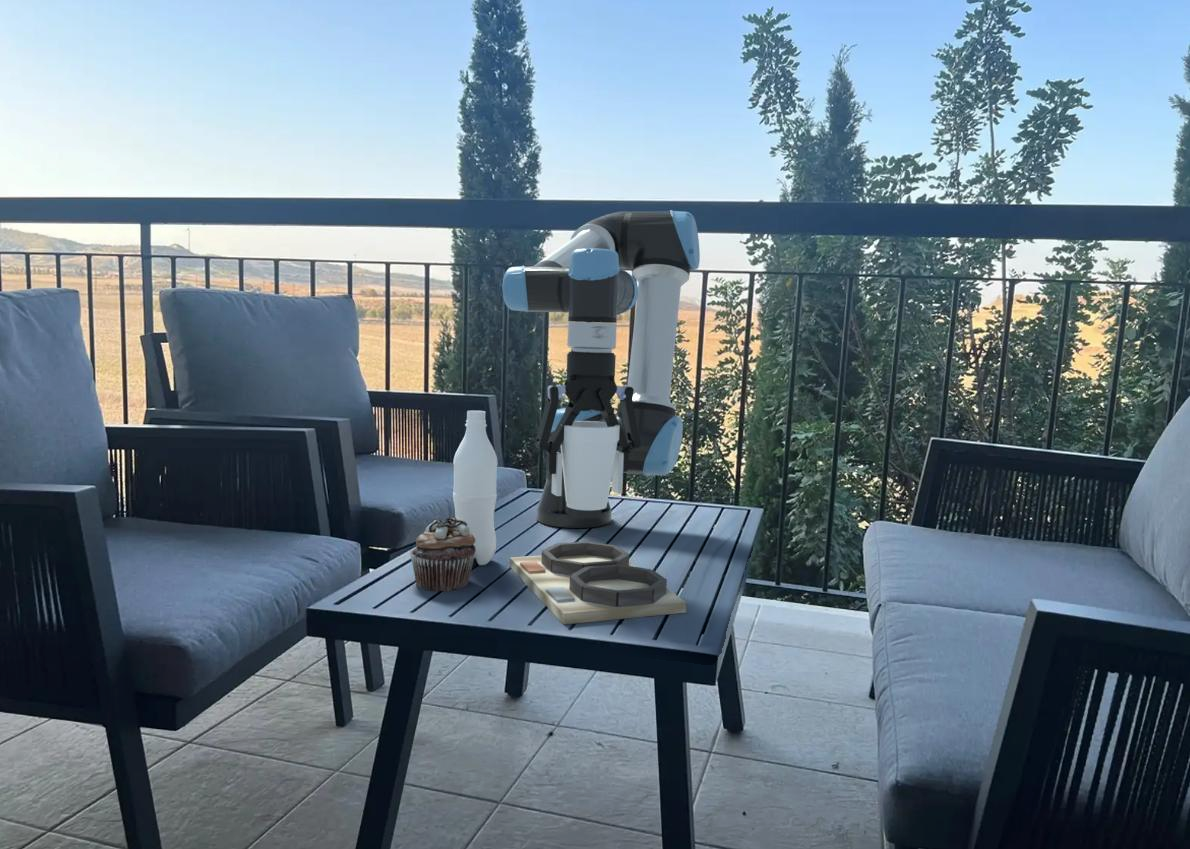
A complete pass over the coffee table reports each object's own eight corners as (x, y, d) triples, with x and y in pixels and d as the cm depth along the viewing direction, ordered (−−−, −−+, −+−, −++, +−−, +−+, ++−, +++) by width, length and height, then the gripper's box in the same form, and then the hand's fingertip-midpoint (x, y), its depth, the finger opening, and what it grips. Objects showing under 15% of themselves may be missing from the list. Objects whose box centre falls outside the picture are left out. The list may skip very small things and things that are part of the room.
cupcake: (450, 570, 136) (450, 508, 135) (487, 584, 129) (488, 519, 128) (397, 581, 129) (397, 516, 128) (434, 597, 122) (435, 529, 121)
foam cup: (583, 497, 141) (586, 419, 140) (628, 506, 135) (631, 425, 134) (544, 505, 134) (546, 423, 132) (590, 515, 128) (592, 429, 126)
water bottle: (488, 569, 137) (491, 414, 134) (446, 566, 138) (447, 412, 135) (500, 557, 144) (503, 410, 141) (460, 554, 145) (461, 408, 142)
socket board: (509, 566, 139) (510, 545, 138) (612, 559, 145) (613, 539, 145) (563, 624, 113) (564, 598, 112) (685, 612, 119) (686, 588, 119)
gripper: (529, 349, 124) (525, 500, 127) (666, 353, 132) (660, 495, 135) (515, 348, 131) (512, 491, 134) (647, 351, 139) (641, 486, 142)
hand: (587, 493), depth 134 cm, fingers closed on foam cup, 9 cm apart
